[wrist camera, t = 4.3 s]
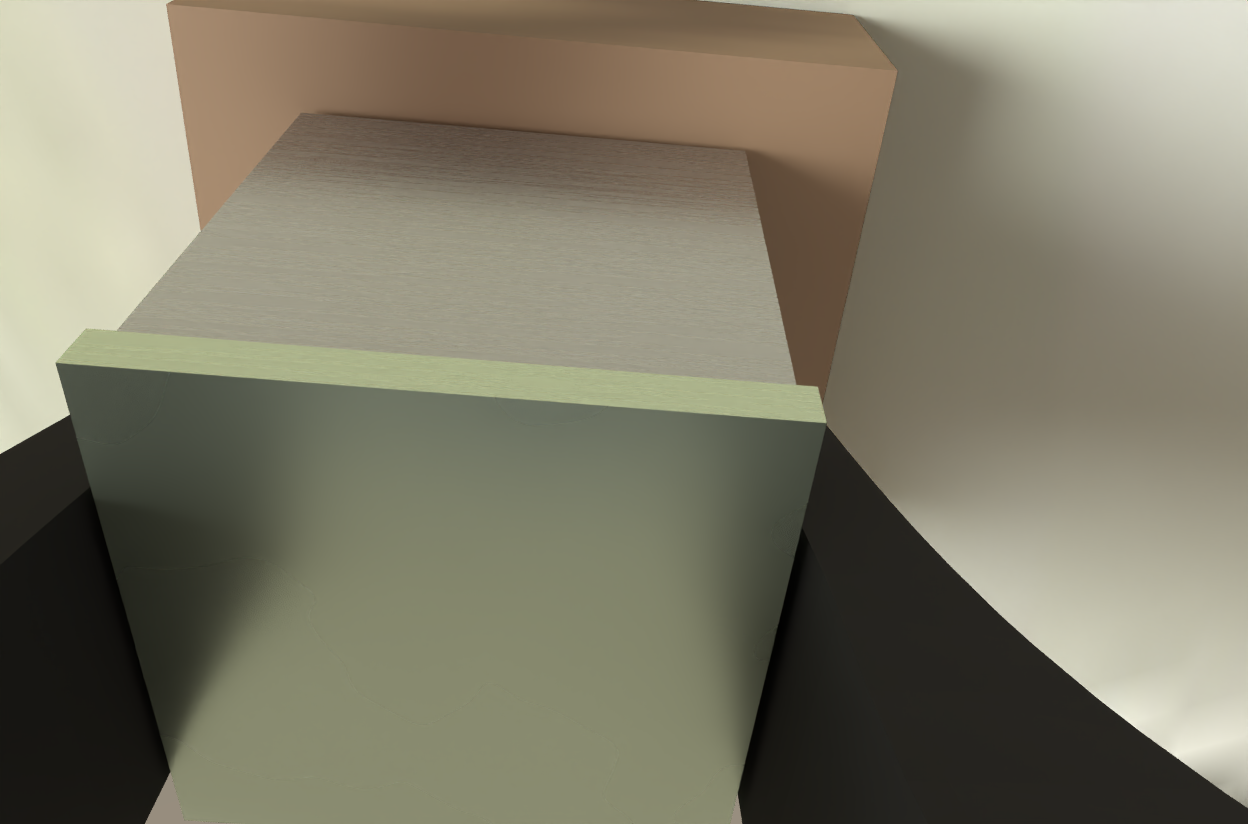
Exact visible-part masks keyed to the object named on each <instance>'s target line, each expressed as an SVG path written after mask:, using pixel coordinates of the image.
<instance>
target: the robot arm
mask: <svg viewBox="0 0 1248 824" xmlns="http://www.w3.org/2000/svg"><path fill="white" fill-rule="evenodd" d="M169 773H170V768H169V764H168V761H167V757H166V754H165V750H164V746H163V743H162V739H161V736H160V732H159V729H158V725H157V722H156V718H155V714H154V711H153V707H152V704H151V700H150V697H149V693H148V690H147V686H146V682H145V679H144V675H143V672H142V668H141V665H140V661H139V658H138V654H137V651H136V647H135V643H134V640H133V636H132V633H131V629H130V626H129V622H128V619H127V615H126V611H125V608H124V604H123V601H122V597H121V594H120V590H119V587H118V583H117V579H116V576H115V572H114V569H113V565H112V562H111V558H110V555H109V551H108V547H107V544H106V540H105V537H104V533H103V530H102V526H101V523H100V519H99V515H98V512H97V508H96V505H95V501H94V498H93V494H92V491H91V487H90V483H89V480H88V476H87V473H86V469H85V466H84V462H83V459H82V455H81V451H80V448H79V444H78V441H77V437H76V434H75V430H74V427H73V423H72V420H71V416H70V415H69V416H67V417H65V418H63V419H62V420H60V421H58V422H56V423H55V424H53V425H51V426H49V427H47V428H46V429H44V430H42V431H40V432H39V433H37V434H35V435H33V436H32V437H30V438H28V439H26V440H24V441H23V442H21V443H19V444H17V445H16V446H14V447H12V448H10V449H8V450H7V451H5V452H3V453H1V454H0V824H145V822H146V820H147V818H148V816H149V814H150V812H151V810H152V808H153V806H154V804H155V802H156V800H157V798H158V796H159V794H160V792H161V790H162V788H163V786H164V784H165V782H166V780H167V777H168V775H169ZM738 798H739V804H740V811H741V817H742V824H1248V808H1247V807H1245V806H1244V805H1242V804H1241V803H1239V802H1238V801H1236V800H1235V799H1233V798H1232V797H1230V796H1229V795H1227V794H1226V793H1224V792H1223V791H1222V790H1220V789H1219V788H1217V787H1216V786H1215V785H1213V784H1212V783H1210V782H1209V781H1208V780H1206V779H1205V778H1204V777H1202V776H1201V775H1199V774H1198V773H1197V772H1195V771H1194V770H1192V769H1191V768H1190V767H1188V766H1187V765H1186V764H1184V763H1183V762H1181V761H1180V760H1179V759H1177V758H1176V757H1174V756H1173V755H1172V754H1170V753H1169V752H1168V751H1166V750H1165V749H1163V748H1162V747H1161V746H1159V745H1158V744H1157V743H1155V742H1154V741H1152V740H1151V739H1150V738H1148V737H1147V736H1145V735H1144V734H1143V733H1141V732H1140V731H1139V730H1137V729H1136V728H1135V727H1133V726H1132V725H1131V724H1130V723H1128V722H1127V721H1126V720H1124V719H1123V718H1122V717H1121V716H1119V715H1118V714H1117V713H1115V712H1114V711H1113V710H1111V709H1110V708H1109V707H1108V706H1106V705H1105V704H1104V703H1102V702H1101V701H1100V700H1099V699H1097V698H1096V697H1095V696H1094V695H1093V694H1091V693H1090V692H1089V691H1088V690H1087V689H1085V688H1084V687H1083V686H1082V685H1081V684H1079V683H1078V682H1077V681H1076V680H1075V679H1073V678H1072V677H1071V676H1070V675H1069V674H1068V673H1066V672H1065V671H1064V670H1063V669H1062V668H1060V667H1059V666H1058V665H1057V664H1056V663H1054V662H1053V661H1052V660H1051V659H1050V658H1048V657H1047V656H1046V655H1045V654H1044V653H1043V652H1041V651H1040V650H1039V649H1038V648H1037V647H1035V646H1034V645H1033V644H1032V643H1031V642H1029V641H1028V640H1027V639H1026V638H1025V637H1024V636H1023V635H1022V634H1021V633H1020V632H1018V631H1017V630H1016V629H1015V628H1014V627H1013V626H1012V625H1011V624H1010V623H1008V622H1007V621H1006V620H1005V619H1004V618H1003V617H1002V616H1001V615H1000V614H999V613H998V612H997V611H996V610H994V609H993V608H992V607H991V606H990V605H989V604H988V603H987V602H986V601H985V600H984V599H983V598H982V597H981V596H980V595H979V594H978V593H977V592H976V591H975V590H974V589H973V588H972V587H971V586H970V585H969V584H968V583H967V582H966V581H965V580H964V579H963V578H962V577H961V576H960V575H959V574H958V573H957V572H956V571H955V570H954V569H953V568H952V567H951V566H950V565H949V564H948V563H947V562H946V561H945V560H944V559H943V558H942V557H941V556H940V555H939V554H938V553H937V552H936V551H935V550H934V549H933V548H932V547H931V546H930V545H929V543H928V542H927V541H926V540H925V539H924V538H923V537H922V536H921V535H920V534H919V533H918V532H917V531H916V529H915V528H914V527H913V526H912V525H911V524H910V523H909V522H908V521H907V520H906V519H905V517H904V516H903V515H902V514H901V513H900V512H899V511H898V510H897V508H896V507H895V506H894V505H893V504H892V503H891V502H890V501H889V499H888V498H887V497H886V496H885V495H884V494H883V492H882V491H881V490H880V489H879V488H878V487H877V486H876V484H875V483H874V482H873V481H872V480H871V479H870V477H869V476H868V475H867V474H866V473H865V471H864V470H863V469H862V468H861V467H860V465H859V464H858V463H857V462H856V461H855V459H854V458H853V457H852V456H851V455H850V453H849V452H848V451H847V450H846V449H845V447H844V446H843V445H842V444H841V442H840V441H839V440H838V439H837V438H836V436H835V435H834V434H833V433H832V431H831V430H830V429H829V428H828V426H827V425H826V429H825V433H824V437H823V441H822V445H821V449H820V453H819V458H818V462H817V466H816V470H815V474H814V478H813V482H812V487H811V491H810V495H809V499H808V503H807V507H806V511H805V516H804V520H803V524H802V528H801V532H800V536H799V540H798V545H797V549H796V553H795V557H794V561H793V565H792V569H791V574H790V578H789V582H788V586H787V590H786V594H785V598H784V603H783V607H782V611H781V615H780V619H779V623H778V627H777V632H776V636H775V640H774V644H773V648H772V652H771V656H770V661H769V665H768V669H767V673H766V677H765V681H764V685H763V690H762V694H761V698H760V702H759V706H758V710H757V714H756V719H755V723H754V727H753V731H752V735H751V739H750V743H749V748H748V752H747V756H746V760H745V764H744V768H743V773H742V777H741V781H740V785H739V789H738Z"/></svg>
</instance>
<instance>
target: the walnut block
mask: <svg viewBox="0 0 1248 824" xmlns="http://www.w3.org/2000/svg"><path fill="white" fill-rule="evenodd" d="M166 6H167V12H168V19H169V26H170V32H171V39H172V45H173V52H174V58H175V65H176V71H177V78H178V85H179V91H180V98H181V104H182V111H183V117H184V124H185V130H186V137H187V144H188V150H189V157H190V163H191V170H192V176H193V183H194V190H195V196H196V203H197V209H198V216H199V222H200V229H201V230H202V229H203V228H204V227H205V226H206V225H207V223H208V222H209V221H210V220H211V219H212V217H213V216H214V215H215V214H216V213H217V212H218V210H219V209H220V208H221V207H222V206H223V204H224V203H225V202H226V201H227V200H228V199H229V197H230V196H231V195H232V194H233V193H234V191H235V190H236V189H237V188H238V187H239V186H240V184H241V183H242V182H243V181H244V180H245V178H246V177H247V176H248V175H249V174H250V173H251V171H252V170H253V169H254V168H255V167H256V165H257V164H258V163H259V162H260V161H261V160H262V158H263V157H264V156H265V155H266V154H267V152H268V151H269V150H270V149H271V148H272V147H273V145H274V144H275V143H276V142H277V141H278V139H279V138H280V137H281V136H282V135H283V134H284V132H285V131H286V130H287V129H288V128H289V126H290V125H291V124H292V123H293V122H294V121H295V119H296V118H297V117H298V116H299V115H300V113H312V114H324V115H336V116H347V117H359V118H370V119H382V120H393V121H405V122H417V123H428V124H440V125H451V126H463V127H474V128H486V129H497V130H509V131H521V132H532V133H544V134H555V135H567V136H578V137H590V138H602V139H613V140H625V141H636V142H648V143H659V144H671V145H682V146H694V147H706V148H717V149H729V150H740V151H745V152H746V156H747V161H748V165H749V170H750V175H751V179H752V184H753V188H754V193H755V197H756V202H757V207H758V211H759V216H760V220H761V225H762V230H763V234H764V239H765V243H766V248H767V252H768V257H769V262H770V266H771V271H772V275H773V280H774V285H775V289H776V294H777V298H778V303H779V307H780V312H781V317H782V321H783V326H784V330H785V335H786V340H787V344H788V349H789V353H790V358H791V362H792V367H793V372H794V376H795V381H796V385H803V386H815V387H818V390H819V394H820V398H821V402H822V404H823V400H824V395H825V391H826V386H827V382H828V377H829V373H830V369H831V364H832V360H833V355H834V351H835V347H836V342H837V338H838V333H839V329H840V324H841V320H842V316H843V311H844V307H845V302H846V298H847V293H848V289H849V285H850V280H851V276H852V271H853V267H854V263H855V258H856V254H857V249H858V245H859V240H860V236H861V232H862V227H863V223H864V218H865V214H866V209H867V205H868V201H869V196H870V192H871V187H872V183H873V179H874V174H875V170H876V165H877V161H878V156H879V152H880V148H881V143H882V139H883V134H884V130H885V125H886V121H887V117H888V112H889V108H890V103H891V99H892V95H893V90H894V86H895V81H896V77H897V72H898V71H897V69H896V68H895V67H894V66H893V64H892V63H891V62H890V60H889V59H888V58H887V57H886V55H885V54H884V53H883V52H882V50H881V49H880V48H879V47H878V45H877V44H876V43H875V42H874V40H873V39H872V38H871V37H870V35H869V34H868V33H867V32H866V30H865V29H864V28H863V27H862V25H861V24H860V23H859V22H858V20H857V19H856V18H855V17H854V15H848V14H837V13H826V12H816V11H805V10H794V9H783V8H772V7H762V6H751V5H740V4H729V3H719V2H708V1H697V0H173V1H171V2H169V3H168V4H166Z"/></svg>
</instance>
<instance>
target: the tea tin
mask: <svg viewBox="0 0 1248 824" xmlns="http://www.w3.org/2000/svg"><path fill="white" fill-rule="evenodd" d="M56 366H57V370H58V373H59V377H60V380H61V384H62V388H63V391H64V395H65V398H66V402H67V405H68V409H69V412H70V416H71V420H72V423H73V427H74V430H75V434H76V437H77V441H78V444H79V448H80V451H81V455H82V459H83V462H84V466H85V469H86V473H87V476H88V480H89V483H90V487H91V491H92V494H93V498H94V501H95V505H96V508H97V512H98V515H99V519H100V523H101V526H102V530H103V533H104V537H105V540H106V544H107V547H108V551H109V555H110V558H111V562H112V565H113V569H114V572H115V576H116V579H117V583H118V587H119V590H120V594H121V597H122V601H123V604H124V608H125V611H126V615H127V619H128V622H129V626H130V629H131V633H132V636H133V640H134V643H135V647H136V651H137V654H138V658H139V661H140V665H141V668H142V672H143V675H144V679H145V682H146V686H147V690H148V693H149V697H150V700H151V704H152V707H153V711H154V714H155V718H156V722H157V725H158V729H159V732H160V736H161V739H162V743H163V746H164V750H165V754H166V757H167V761H168V764H169V768H170V771H171V775H172V778H173V782H174V786H175V789H176V792H177V796H178V800H179V803H180V807H181V810H182V814H183V818H184V820H188V821H203V822H218V823H234V824H730V822H731V818H732V814H733V810H734V806H735V801H736V796H737V793H738V789H739V785H740V781H741V777H742V773H743V768H744V764H745V760H746V756H747V752H748V748H749V743H750V739H751V735H752V731H753V727H754V723H755V719H756V714H757V710H758V706H759V702H760V698H761V694H762V690H763V685H764V681H765V677H766V673H767V669H768V665H769V661H770V656H771V652H772V648H773V644H774V640H775V636H776V632H777V627H778V623H779V619H780V615H781V611H782V607H783V603H784V598H785V594H786V590H787V586H788V582H789V578H790V574H791V569H792V565H793V561H794V557H795V553H796V549H797V545H798V540H799V536H800V532H801V528H802V524H803V520H804V516H805V511H806V507H807V503H808V499H809V495H810V491H811V487H812V482H813V478H814V474H815V470H816V466H817V462H818V458H819V453H820V449H821V445H822V441H823V437H824V433H825V429H826V424H827V422H826V418H825V414H824V410H823V406H822V402H821V398H820V394H819V390H818V387H815V386H803V385H796V381H795V376H794V372H793V367H792V362H791V358H790V353H789V349H788V344H787V340H786V335H785V330H784V326H783V321H782V317H781V312H780V307H779V303H778V298H777V294H776V289H775V285H774V280H773V275H772V271H771V266H770V262H769V257H768V252H767V248H766V243H765V239H764V234H763V230H762V225H761V220H760V216H759V211H758V207H757V202H756V197H755V193H754V188H753V184H752V179H751V175H750V170H749V165H748V161H747V156H746V152H745V151H740V150H729V149H717V148H706V147H694V146H682V145H671V144H659V143H648V142H636V141H625V140H613V139H602V138H590V137H578V136H567V135H555V134H544V133H532V132H521V131H509V130H497V129H486V128H474V127H463V126H451V125H440V124H428V123H417V122H405V121H393V120H382V119H370V118H359V117H347V116H336V115H324V114H312V113H300V115H299V116H298V117H297V118H296V119H295V121H294V122H293V123H292V124H291V125H290V126H289V128H288V129H287V130H286V131H285V132H284V134H283V135H282V136H281V137H280V138H279V139H278V141H277V142H276V143H275V144H274V145H273V147H272V148H271V149H270V150H269V151H268V152H267V154H266V155H265V156H264V157H263V158H262V160H261V161H260V162H259V163H258V164H257V165H256V167H255V168H254V169H253V170H252V171H251V173H250V174H249V175H248V176H247V177H246V178H245V180H244V181H243V182H242V183H241V184H240V186H239V187H238V188H237V189H236V190H235V191H234V193H233V194H232V195H231V196H230V197H229V199H228V200H227V201H226V202H225V203H224V204H223V206H222V207H221V208H220V209H219V210H218V212H217V213H216V214H215V215H214V216H213V217H212V219H211V220H210V221H209V222H208V223H207V225H206V226H205V227H204V228H203V229H202V230H201V232H200V233H199V234H198V235H197V236H196V238H195V239H194V240H193V241H192V242H191V243H190V245H189V246H188V247H187V248H186V249H185V251H184V252H183V253H182V254H181V255H180V257H179V258H178V259H177V260H176V261H175V262H174V264H173V265H172V266H171V267H170V268H169V270H168V271H167V272H166V273H165V274H164V275H163V277H162V278H161V279H160V280H159V281H158V283H157V284H156V285H155V286H154V287H153V288H152V290H151V291H150V292H149V293H148V294H147V296H146V297H145V298H144V299H143V300H142V301H141V303H140V304H139V305H138V306H137V307H136V309H135V310H134V311H133V312H132V313H131V314H130V316H129V317H128V318H127V319H126V320H125V322H124V323H123V324H122V325H121V326H120V327H119V329H118V330H117V331H110V330H97V329H85V331H84V332H83V333H82V334H81V335H80V336H79V337H78V338H77V339H76V341H75V342H74V343H73V344H72V345H71V346H70V347H69V348H68V349H67V351H66V352H65V353H64V354H63V355H62V356H61V357H60V358H59V359H58V361H57V362H56Z"/></svg>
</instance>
